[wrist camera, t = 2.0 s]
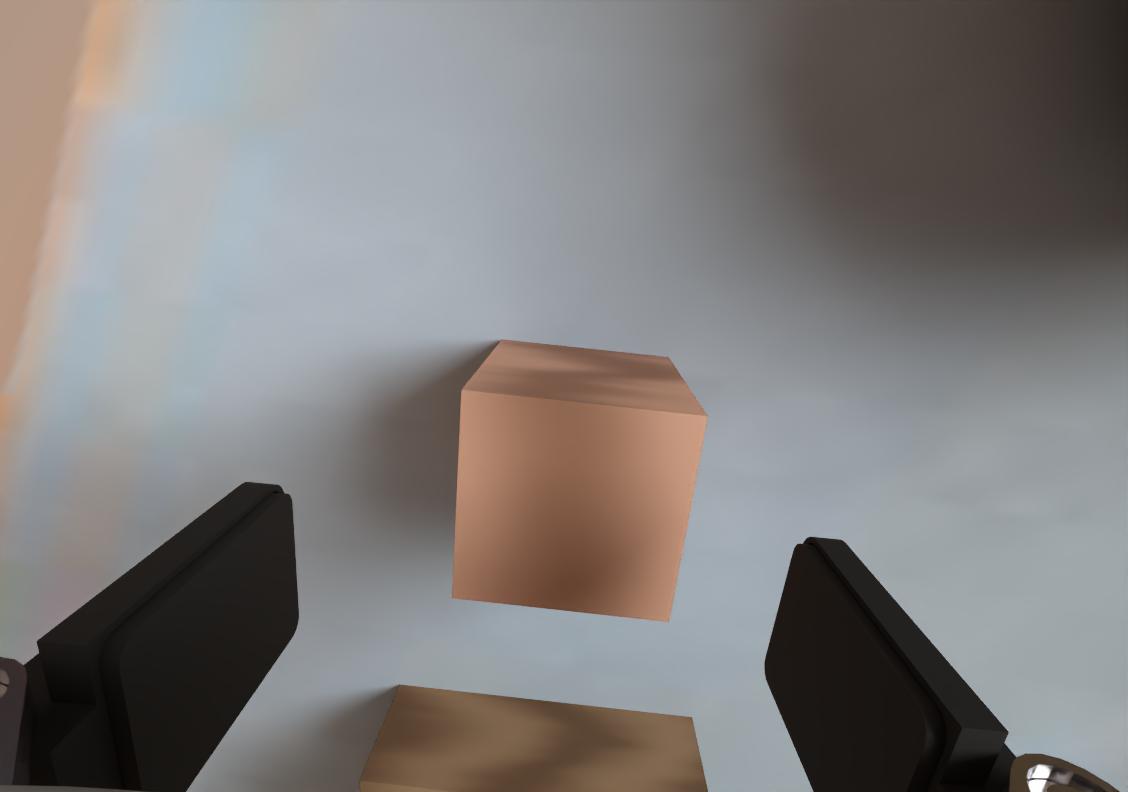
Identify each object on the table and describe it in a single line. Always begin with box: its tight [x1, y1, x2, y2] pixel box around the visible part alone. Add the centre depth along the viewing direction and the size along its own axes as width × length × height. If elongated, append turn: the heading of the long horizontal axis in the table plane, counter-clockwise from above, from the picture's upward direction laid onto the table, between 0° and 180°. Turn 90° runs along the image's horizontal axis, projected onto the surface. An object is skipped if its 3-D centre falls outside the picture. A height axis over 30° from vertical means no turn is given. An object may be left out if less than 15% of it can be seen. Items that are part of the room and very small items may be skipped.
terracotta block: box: [452, 340, 708, 622], centre depth 16 cm, size 6×6×6 cm
